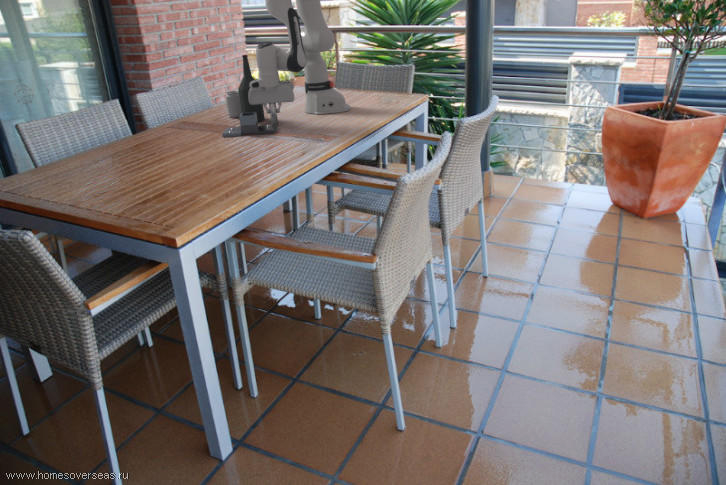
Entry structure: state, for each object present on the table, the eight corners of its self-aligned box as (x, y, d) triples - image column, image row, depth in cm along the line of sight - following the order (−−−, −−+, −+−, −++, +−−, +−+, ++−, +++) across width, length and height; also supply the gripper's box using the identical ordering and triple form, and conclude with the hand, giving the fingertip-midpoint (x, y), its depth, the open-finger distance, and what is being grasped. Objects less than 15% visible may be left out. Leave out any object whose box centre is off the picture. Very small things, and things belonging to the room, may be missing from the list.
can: (245, 114, 284) (242, 89, 279) (241, 118, 277) (237, 93, 272) (231, 114, 285) (227, 90, 280) (226, 118, 278) (222, 93, 273)
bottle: (259, 123, 265) (250, 56, 252) (240, 123, 267) (229, 56, 254) (267, 118, 274) (258, 52, 261) (248, 118, 276) (239, 53, 263)
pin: (278, 124, 260) (275, 97, 255) (278, 125, 258) (274, 99, 252) (272, 124, 260) (268, 98, 255) (271, 126, 258) (268, 99, 252)
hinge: (277, 127, 255) (274, 109, 252) (275, 133, 246) (272, 115, 243) (226, 131, 255) (223, 113, 251) (222, 137, 246) (219, 118, 242)
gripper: (293, 78, 254) (296, 109, 260) (247, 82, 253) (251, 113, 259) (292, 81, 248) (296, 112, 254) (245, 84, 247) (250, 116, 253)
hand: (273, 113), depth 257 cm, fingers closed on pin, 3 cm apart
